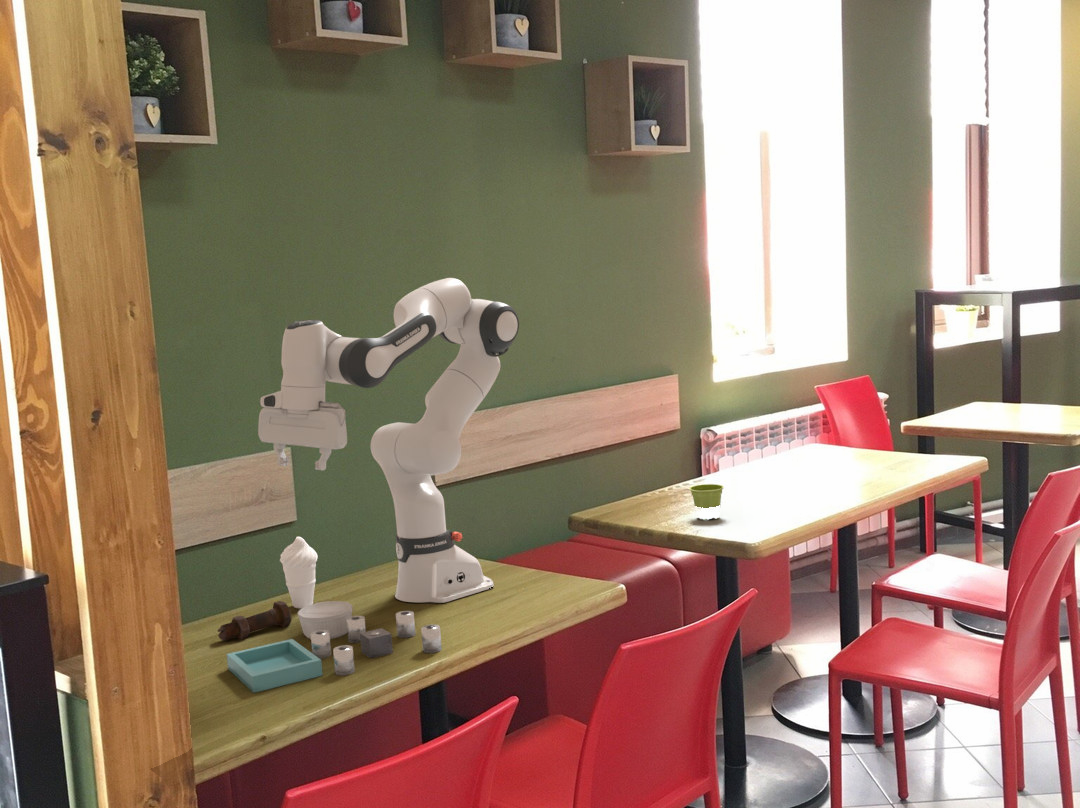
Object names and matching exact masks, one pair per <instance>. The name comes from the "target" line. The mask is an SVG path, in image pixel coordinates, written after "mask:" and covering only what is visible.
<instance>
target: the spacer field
mask: <svg viewBox="0 0 1080 808" xmlns="http://www.w3.org/2000/svg"><path fill="white" fill-rule="evenodd" d="M395 619H396V620H395V622H396V631H397V632H396V633H397V637H398V638H400V639H408V638H412V637H414V636H415V635H416V624H415V614H414V611H412V610H402V611H398V612H396V613H395ZM420 630H421V643H422V651H423V653H427V654H434V653H438V652H441V651H442V636H441V627H440V625H439V624H426V625H423V626H422V627H421V629H420ZM347 631H348V633H347V640H348V643H349V644H350V643H351V644H358V643H360V644H361V641H360V633H363V632H367V631H366V619H365V616H363V615H353V616H352V617H349V618H347ZM310 640H311V641H310V642H311V653H312V654H314V655H315V656H317V657H318V658H319V659H321V660H322V659H326V658H329V657H331V656H332V652H333V662H334V663H333V664H334V672H335V673H334V674H335V675H337V676H348V675H351V674H353V673H355V671H356V669H355V667H356V666H355V659H354V658H355V657H354V649H353V648H354V646H353V645H349V644H348V645H347V644H345V645H343V644H342V645H339V646H335V647H334V648H332V645H331V639H330V633H329V631H327V630H319V631H315V632H312V633H311V639H310ZM332 649H333V650H332Z"/></svg>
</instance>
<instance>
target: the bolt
mask: <svg viewBox="0 0 1080 808" xmlns="http://www.w3.org/2000/svg"><path fill="white" fill-rule="evenodd" d="M272 605H273V606H272V608H270V609H269V610H266V611H263V612H260V613H256V614H253V615H250V616H247V617H244V616H243V615H236V616H233V617H232V619H231V621H230V622H229V623H228V622H227V623H226V624H221V626H220V627H219V628H218V629H217V632H218V634H217V637H218V639H220V640H221V641H228V640H231V639H234V638H236V639H239V640H243V639H247V638H248V637H249V635H250V634H251V633H254V632H256V631H260V630H261V629H265V628H269V627H271V626H276V625H277V626H280V627H283V628H285V627H289V626H290V624H291V623H292V613H291V608H290V607H289V605H288V604H287V603H286V602H285V601H284V600H283V601H282V600H277V601H275V602H273V604H272Z"/></svg>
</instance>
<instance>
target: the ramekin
mask: <svg viewBox="0 0 1080 808" xmlns="http://www.w3.org/2000/svg"><path fill="white" fill-rule="evenodd" d="M353 607H354V606H353V605H352V603H350V602H348V601H344V600H341V601H340V600H329V601H328V600H327V601H320V602H315V603H314V602H313V604H311V605H308V606H305V607H303V608H299V610H298V611H297V617H298V619H299V621H300V626H301V629H302V632H303V635H304V636H305V637H306V638H308V639H309V640H311V633H312V632H315V631H319V630H327V631H329V633H330V640H333V639H336V638H340V637H343V636H346V635H347V634H348V631H347V618H349V617H352V615H353V613H352V612H353Z"/></svg>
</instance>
